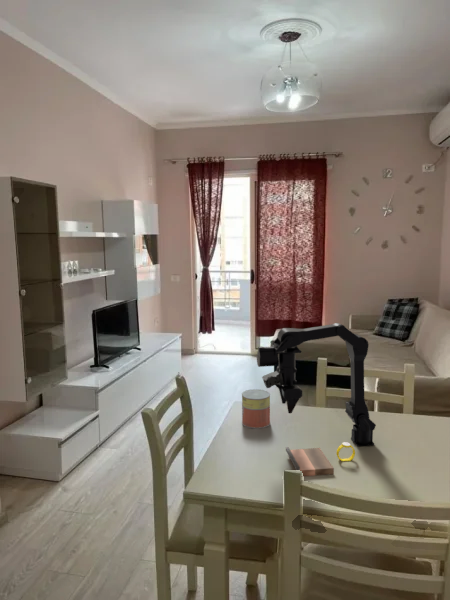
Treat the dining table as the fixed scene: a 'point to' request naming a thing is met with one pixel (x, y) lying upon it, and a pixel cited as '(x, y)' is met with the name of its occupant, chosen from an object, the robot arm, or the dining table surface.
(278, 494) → the dining table surface
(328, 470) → the copper slab
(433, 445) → the dining table surface
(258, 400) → the canned food
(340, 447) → the watch
